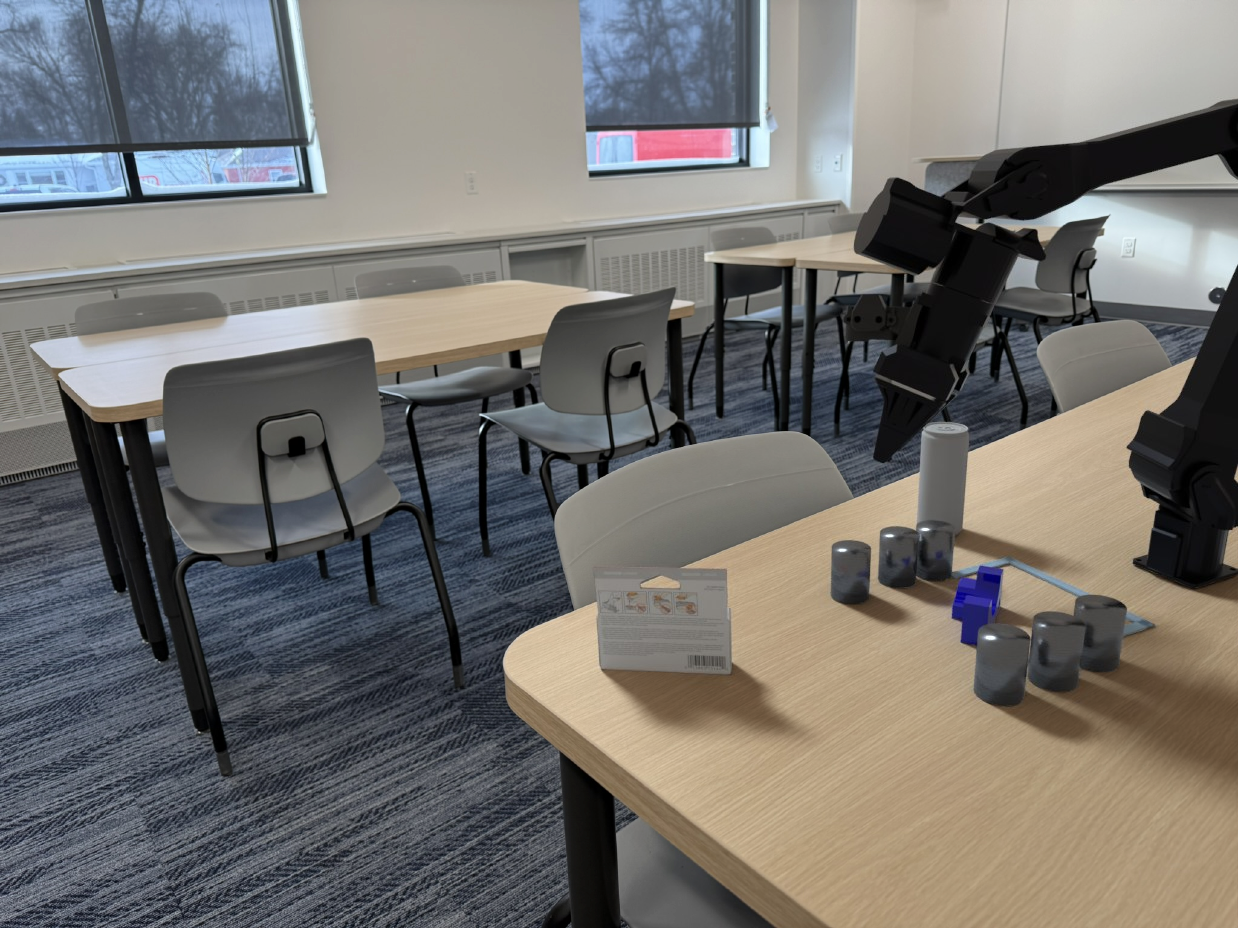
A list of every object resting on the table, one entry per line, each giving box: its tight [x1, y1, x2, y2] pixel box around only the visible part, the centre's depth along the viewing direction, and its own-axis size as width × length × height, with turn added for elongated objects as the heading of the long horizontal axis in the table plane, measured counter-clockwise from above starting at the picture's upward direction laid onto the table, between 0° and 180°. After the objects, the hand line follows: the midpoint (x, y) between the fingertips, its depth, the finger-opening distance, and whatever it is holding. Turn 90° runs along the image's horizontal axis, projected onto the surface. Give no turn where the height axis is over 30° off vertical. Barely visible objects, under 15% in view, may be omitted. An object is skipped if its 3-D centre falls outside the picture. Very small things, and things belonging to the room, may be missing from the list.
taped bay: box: [951, 556, 1155, 637], centre depth 79 cm, size 8×16×1 cm, turn 22°
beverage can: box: [916, 421, 970, 536], centre depth 94 cm, size 5×5×12 cm
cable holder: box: [951, 565, 1005, 647], centre depth 76 cm, size 8×4×4 cm, turn 149°
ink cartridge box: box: [592, 566, 733, 675], centre depth 71 cm, size 2×11×10 cm, turn 80°
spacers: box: [830, 520, 1128, 707], centre depth 75 cm, size 14×23×5 cm, turn 22°
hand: (886, 455), depth 79 cm, fingers open, 9 cm apart
